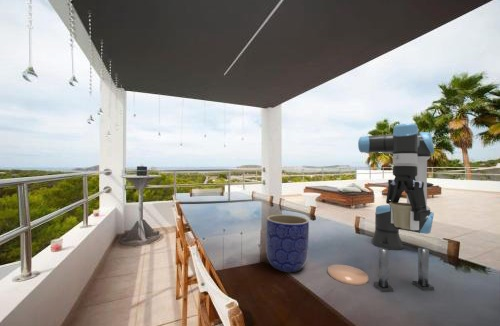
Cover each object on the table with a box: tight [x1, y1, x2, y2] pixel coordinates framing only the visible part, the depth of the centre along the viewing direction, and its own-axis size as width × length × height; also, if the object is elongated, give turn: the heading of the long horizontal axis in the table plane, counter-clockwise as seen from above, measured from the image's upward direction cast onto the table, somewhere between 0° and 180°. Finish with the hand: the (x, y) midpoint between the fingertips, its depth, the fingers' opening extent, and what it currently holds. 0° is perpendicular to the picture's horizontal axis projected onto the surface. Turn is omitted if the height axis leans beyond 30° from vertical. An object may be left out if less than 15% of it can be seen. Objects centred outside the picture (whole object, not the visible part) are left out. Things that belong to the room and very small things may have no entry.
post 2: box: [412, 246, 435, 292], centre depth 81 cm, size 4×4×14 cm
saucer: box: [327, 264, 369, 286], centre depth 88 cm, size 15×15×1 cm
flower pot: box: [388, 202, 417, 229], centre depth 81 cm, size 9×9×9 cm
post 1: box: [373, 247, 394, 293], centre depth 79 cm, size 4×4×14 cm
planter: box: [265, 214, 310, 273], centre depth 95 cm, size 18×18×21 cm
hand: (404, 226), depth 81 cm, fingers closed on flower pot, 8 cm apart
